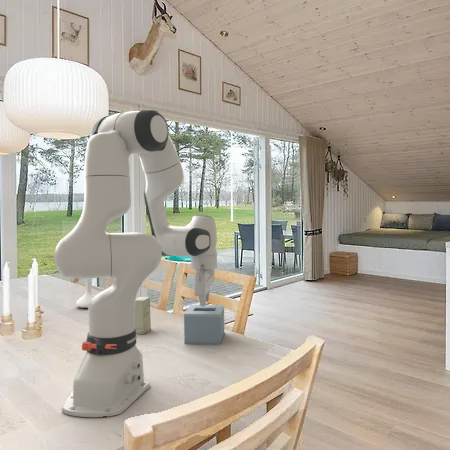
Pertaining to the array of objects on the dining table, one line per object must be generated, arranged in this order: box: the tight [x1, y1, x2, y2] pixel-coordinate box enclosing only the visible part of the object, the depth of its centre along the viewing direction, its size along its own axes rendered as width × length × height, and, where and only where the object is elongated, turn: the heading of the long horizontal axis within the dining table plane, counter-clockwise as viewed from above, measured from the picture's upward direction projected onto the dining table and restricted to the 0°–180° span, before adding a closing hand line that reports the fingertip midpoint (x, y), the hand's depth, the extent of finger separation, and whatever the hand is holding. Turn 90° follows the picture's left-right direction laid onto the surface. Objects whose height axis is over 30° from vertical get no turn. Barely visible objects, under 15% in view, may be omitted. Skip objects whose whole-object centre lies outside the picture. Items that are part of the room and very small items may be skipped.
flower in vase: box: [75, 278, 96, 309], centre depth 184 cm, size 13×11×25 cm
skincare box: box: [134, 296, 152, 335], centre depth 148 cm, size 6×4×12 cm
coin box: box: [183, 304, 225, 346], centre depth 139 cm, size 12×12×10 cm
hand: (204, 303), depth 139 cm, fingers open, 6 cm apart
